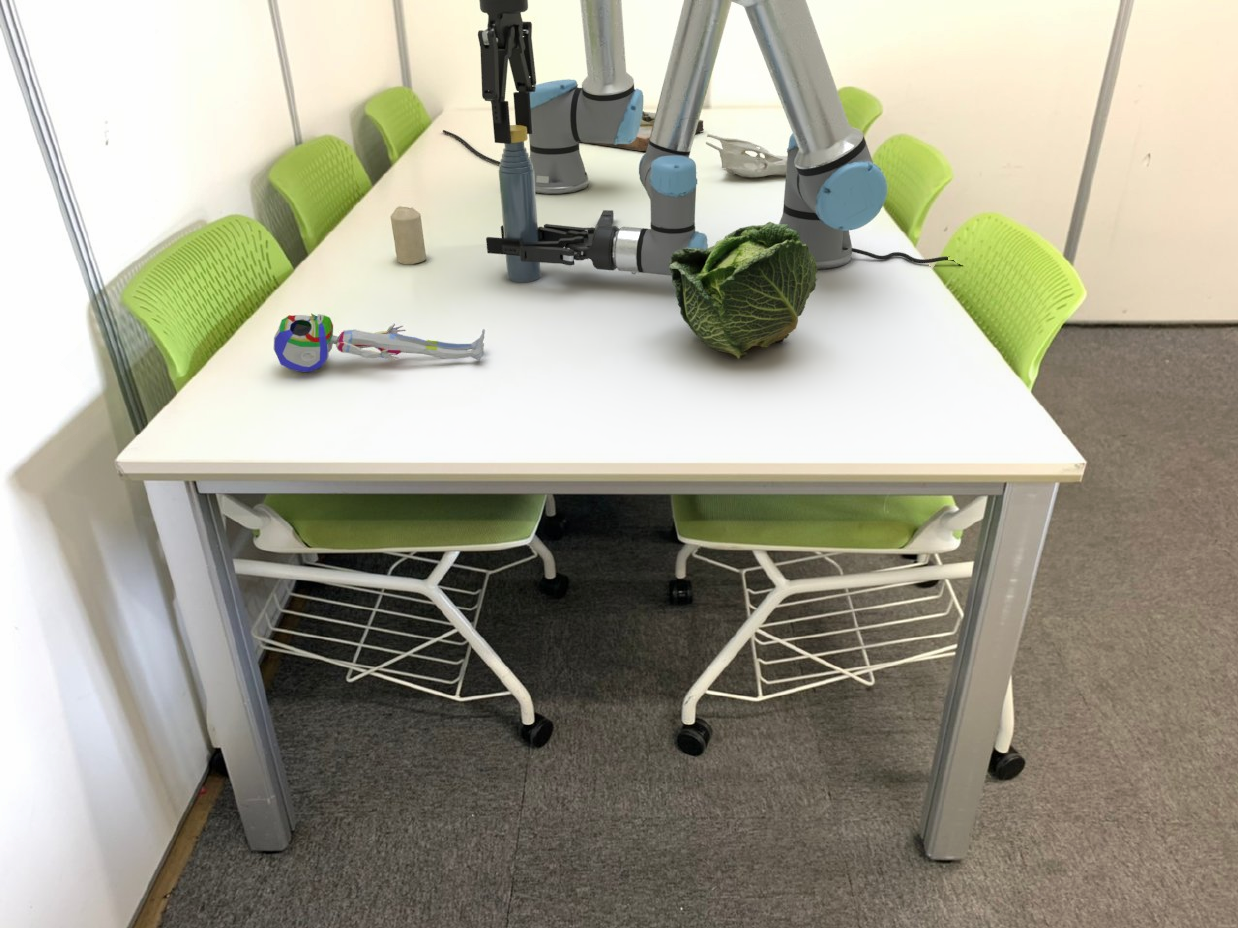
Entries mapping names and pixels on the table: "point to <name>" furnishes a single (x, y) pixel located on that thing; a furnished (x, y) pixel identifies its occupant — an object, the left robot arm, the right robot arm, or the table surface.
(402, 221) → the candle
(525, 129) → the cap
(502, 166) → the bottle
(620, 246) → the right robot arm
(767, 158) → the anatomical model
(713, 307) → the vegetable
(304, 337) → the toy
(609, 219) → the pillar
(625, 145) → the plaque
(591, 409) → the table surface
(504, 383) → the table surface
